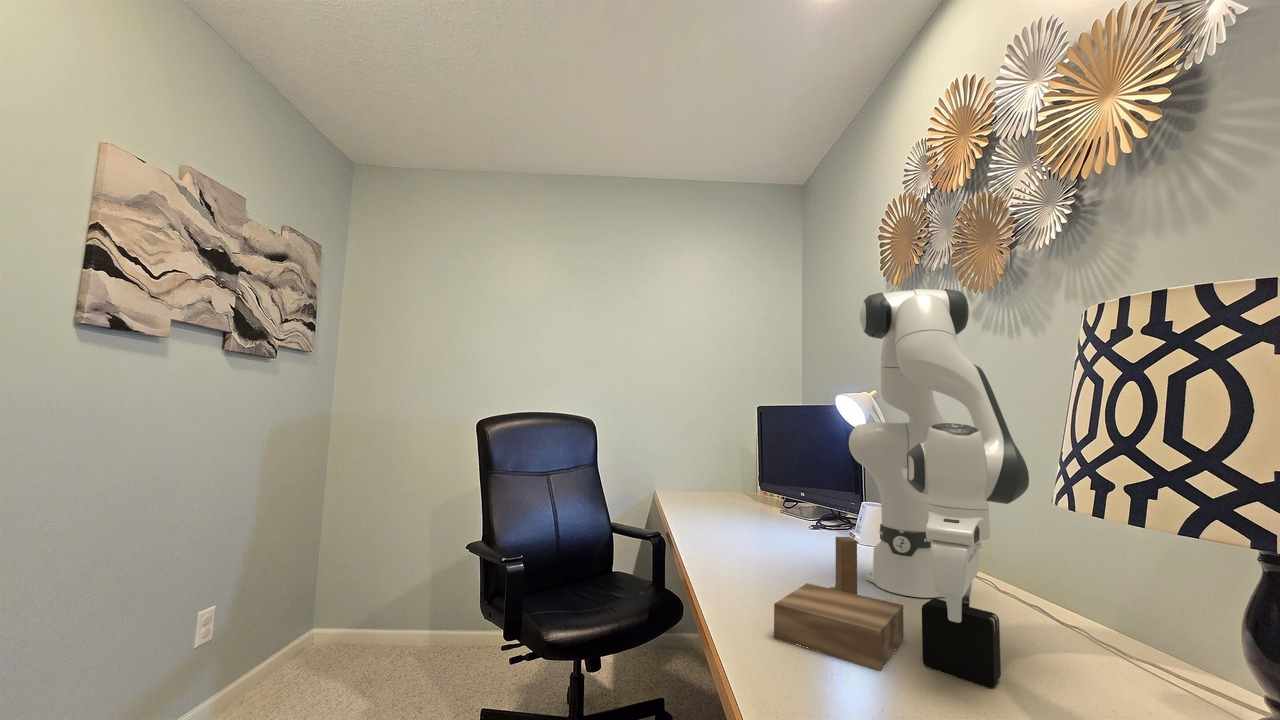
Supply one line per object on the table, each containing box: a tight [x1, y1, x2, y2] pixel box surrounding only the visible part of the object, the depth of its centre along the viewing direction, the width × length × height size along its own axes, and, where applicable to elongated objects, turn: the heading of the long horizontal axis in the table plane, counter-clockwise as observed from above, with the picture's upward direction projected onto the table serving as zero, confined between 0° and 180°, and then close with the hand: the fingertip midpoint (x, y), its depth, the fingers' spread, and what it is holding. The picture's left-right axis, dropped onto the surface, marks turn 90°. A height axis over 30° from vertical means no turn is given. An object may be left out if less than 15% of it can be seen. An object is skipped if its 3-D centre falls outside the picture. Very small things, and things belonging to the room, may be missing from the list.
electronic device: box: [921, 598, 1002, 689], centre depth 85 cm, size 4×10×10 cm, turn 45°
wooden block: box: [829, 536, 858, 595], centre depth 112 cm, size 7×3×15 cm, turn 3°
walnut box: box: [773, 582, 905, 672], centre depth 97 cm, size 16×18×6 cm
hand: (959, 612), depth 85 cm, fingers open, 8 cm apart
